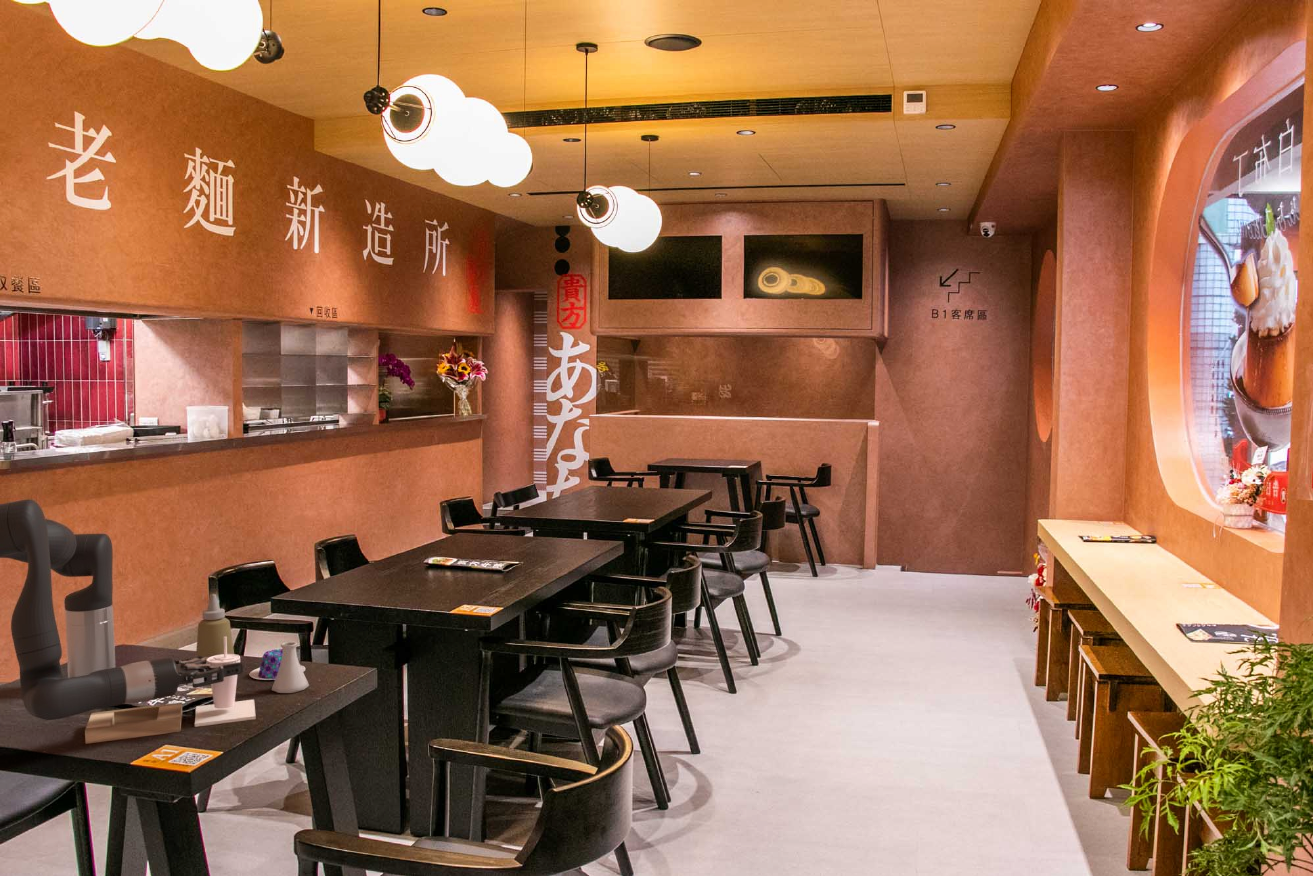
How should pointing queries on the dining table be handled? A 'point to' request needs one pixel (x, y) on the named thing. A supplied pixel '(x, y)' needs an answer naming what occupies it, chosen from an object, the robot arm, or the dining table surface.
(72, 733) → the dining table surface
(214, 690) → the smoothie
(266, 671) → the pudding
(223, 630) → the squeeze bottle
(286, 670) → the flask
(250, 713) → the ceramic pad
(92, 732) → the collar
